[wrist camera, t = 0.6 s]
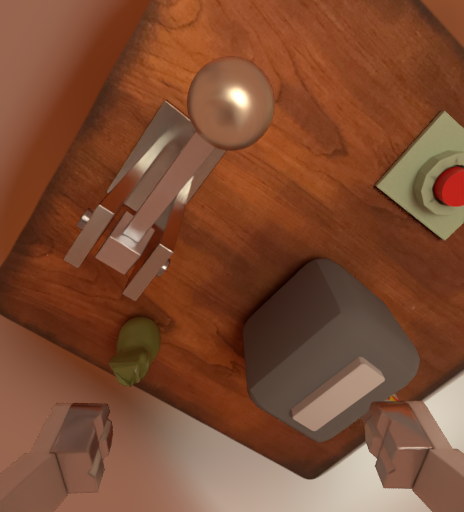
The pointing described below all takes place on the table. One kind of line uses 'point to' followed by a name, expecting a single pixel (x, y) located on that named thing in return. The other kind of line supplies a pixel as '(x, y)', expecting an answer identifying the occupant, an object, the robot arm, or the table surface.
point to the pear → (135, 350)
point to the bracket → (138, 189)
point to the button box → (428, 175)
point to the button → (450, 187)
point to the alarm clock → (324, 351)
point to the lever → (198, 146)
